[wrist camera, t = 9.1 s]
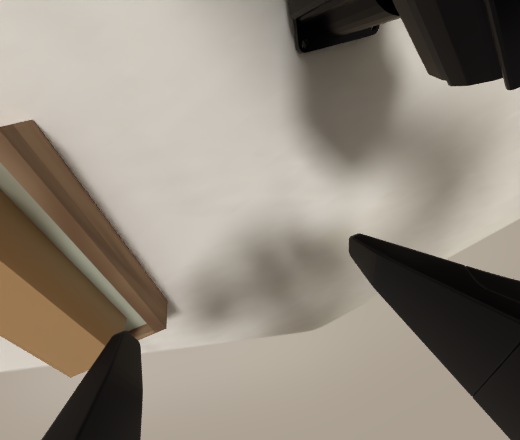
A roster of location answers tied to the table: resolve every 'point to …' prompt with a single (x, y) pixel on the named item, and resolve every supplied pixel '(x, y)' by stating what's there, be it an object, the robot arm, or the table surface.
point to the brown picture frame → (77, 226)
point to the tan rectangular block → (49, 298)
